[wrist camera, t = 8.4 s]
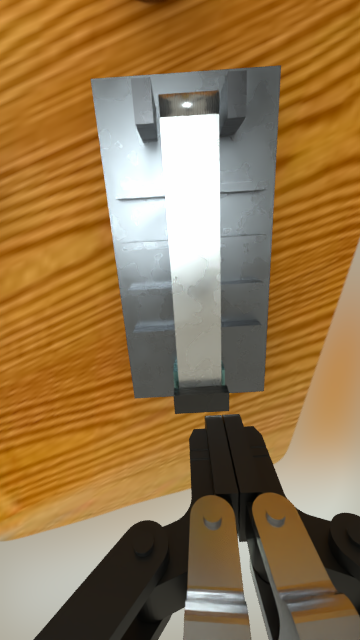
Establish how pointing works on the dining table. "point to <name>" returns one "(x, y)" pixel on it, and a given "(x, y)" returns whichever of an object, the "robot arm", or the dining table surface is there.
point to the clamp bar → (194, 244)
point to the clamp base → (152, 229)
